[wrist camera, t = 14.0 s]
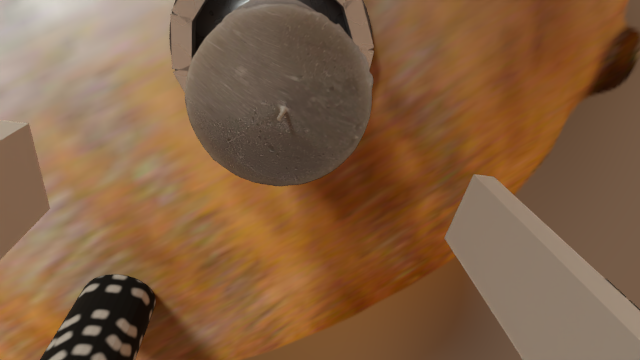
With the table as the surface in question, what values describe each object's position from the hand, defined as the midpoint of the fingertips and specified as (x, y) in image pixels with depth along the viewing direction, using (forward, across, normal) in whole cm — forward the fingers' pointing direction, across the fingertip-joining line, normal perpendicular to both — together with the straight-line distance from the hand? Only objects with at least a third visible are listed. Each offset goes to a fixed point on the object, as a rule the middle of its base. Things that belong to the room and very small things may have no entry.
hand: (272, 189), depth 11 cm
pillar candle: (+22, 0, 0) cm, 22 cm away
